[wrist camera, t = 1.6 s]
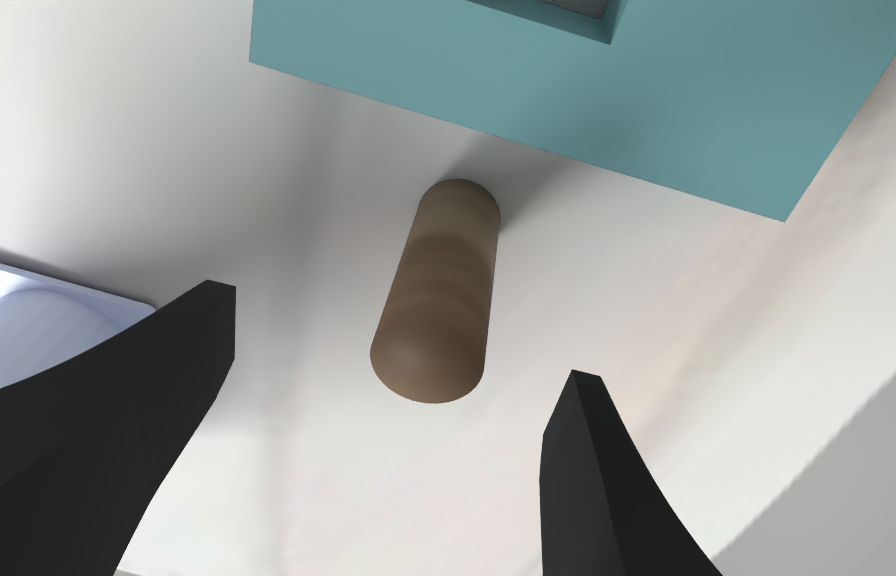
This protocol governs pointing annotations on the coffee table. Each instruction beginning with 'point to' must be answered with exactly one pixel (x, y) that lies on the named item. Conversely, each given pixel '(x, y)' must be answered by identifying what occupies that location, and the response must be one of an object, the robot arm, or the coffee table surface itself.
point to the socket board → (611, 79)
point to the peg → (440, 297)
